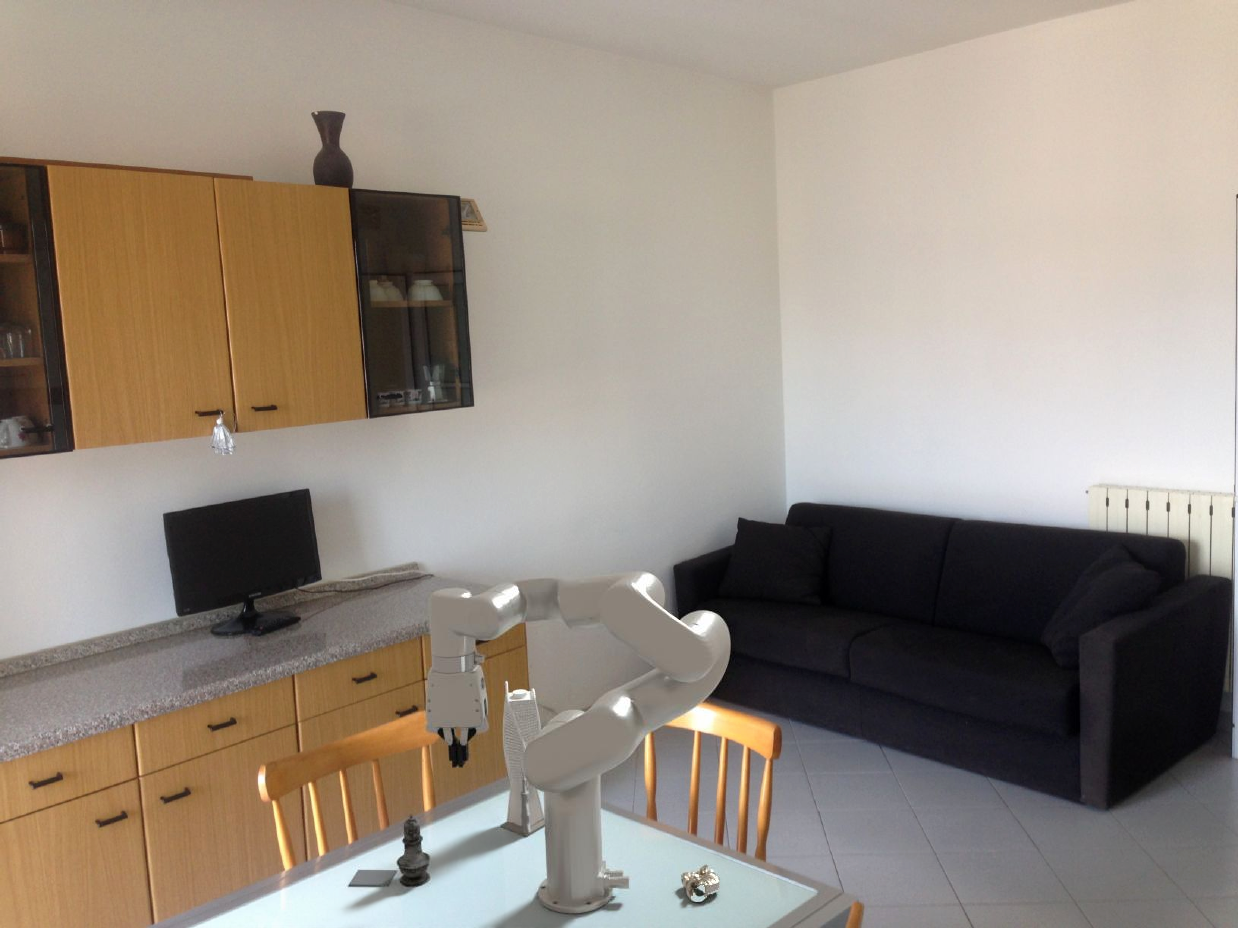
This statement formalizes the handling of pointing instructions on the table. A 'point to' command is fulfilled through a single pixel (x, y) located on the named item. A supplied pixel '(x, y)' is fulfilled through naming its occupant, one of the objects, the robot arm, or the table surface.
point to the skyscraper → (517, 734)
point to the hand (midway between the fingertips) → (459, 764)
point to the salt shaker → (413, 856)
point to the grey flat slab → (373, 878)
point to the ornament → (700, 881)
